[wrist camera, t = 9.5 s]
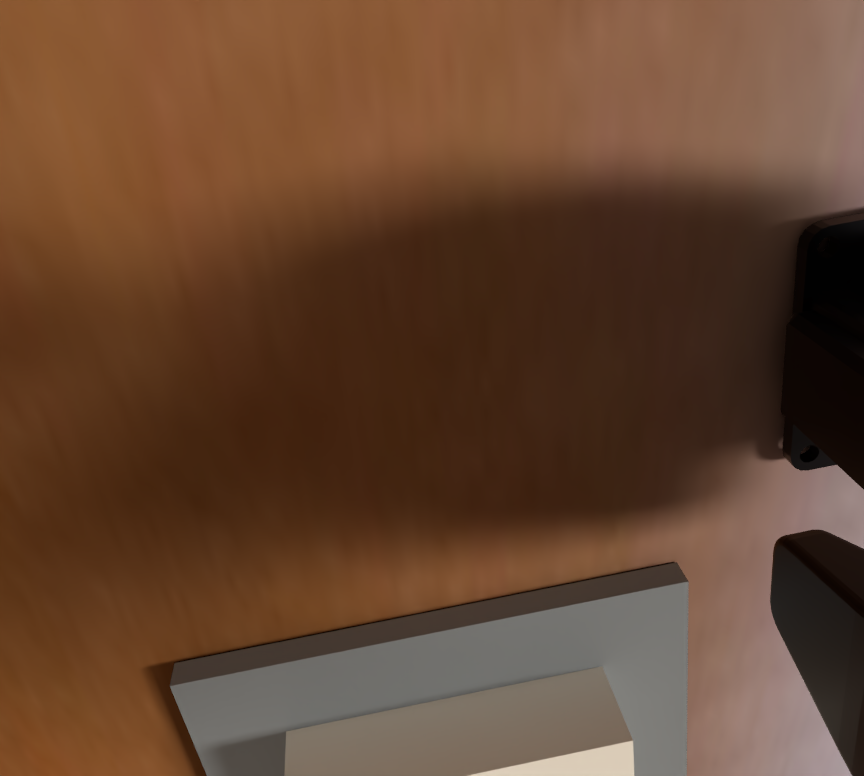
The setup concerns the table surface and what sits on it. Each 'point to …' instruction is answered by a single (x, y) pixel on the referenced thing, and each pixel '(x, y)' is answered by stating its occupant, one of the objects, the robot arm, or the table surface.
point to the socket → (461, 690)
